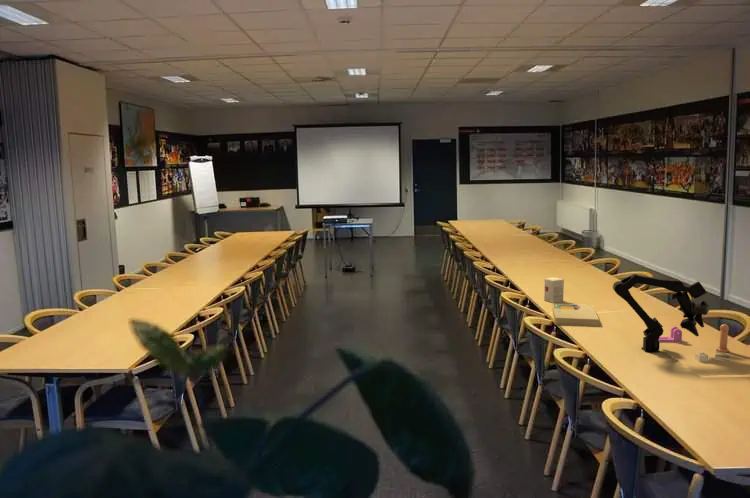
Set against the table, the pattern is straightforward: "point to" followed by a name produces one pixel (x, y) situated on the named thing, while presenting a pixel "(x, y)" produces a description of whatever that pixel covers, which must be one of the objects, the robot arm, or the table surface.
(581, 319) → the puzzle box
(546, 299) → the supplement box
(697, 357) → the die
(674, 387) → the table surface
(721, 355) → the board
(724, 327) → the pawn
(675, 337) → the bracket
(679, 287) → the robot arm
